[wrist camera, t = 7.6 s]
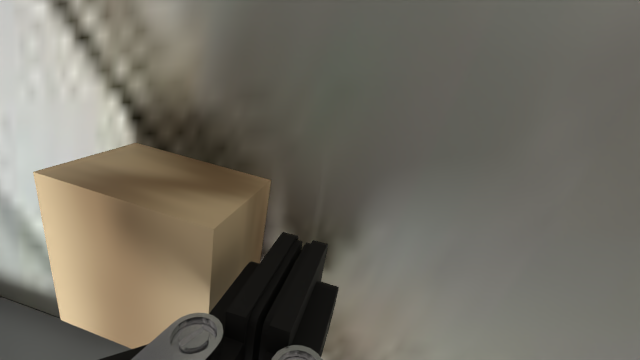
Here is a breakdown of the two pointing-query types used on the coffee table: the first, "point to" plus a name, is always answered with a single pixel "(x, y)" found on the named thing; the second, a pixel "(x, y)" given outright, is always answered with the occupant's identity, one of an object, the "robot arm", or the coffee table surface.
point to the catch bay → (47, 337)
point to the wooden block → (146, 237)
